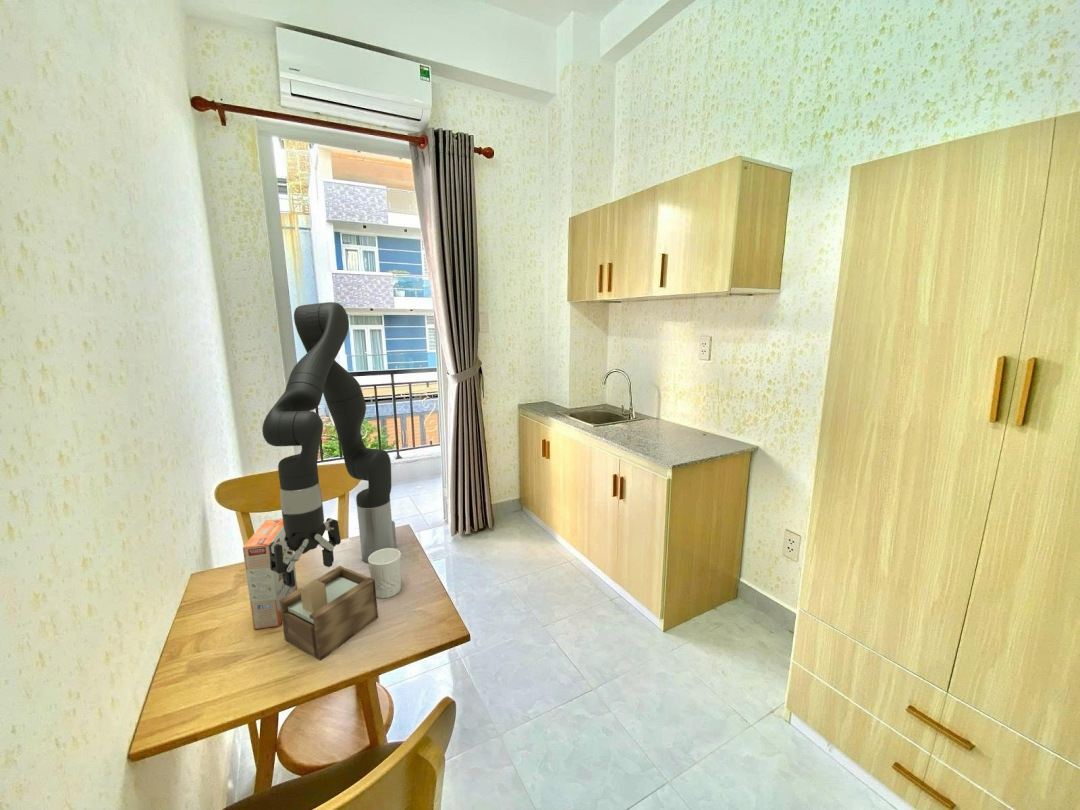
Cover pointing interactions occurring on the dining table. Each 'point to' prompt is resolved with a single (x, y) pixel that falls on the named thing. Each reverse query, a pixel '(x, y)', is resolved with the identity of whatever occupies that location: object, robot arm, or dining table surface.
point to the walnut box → (331, 615)
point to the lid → (319, 596)
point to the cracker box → (265, 575)
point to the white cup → (386, 571)
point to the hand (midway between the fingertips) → (310, 575)
